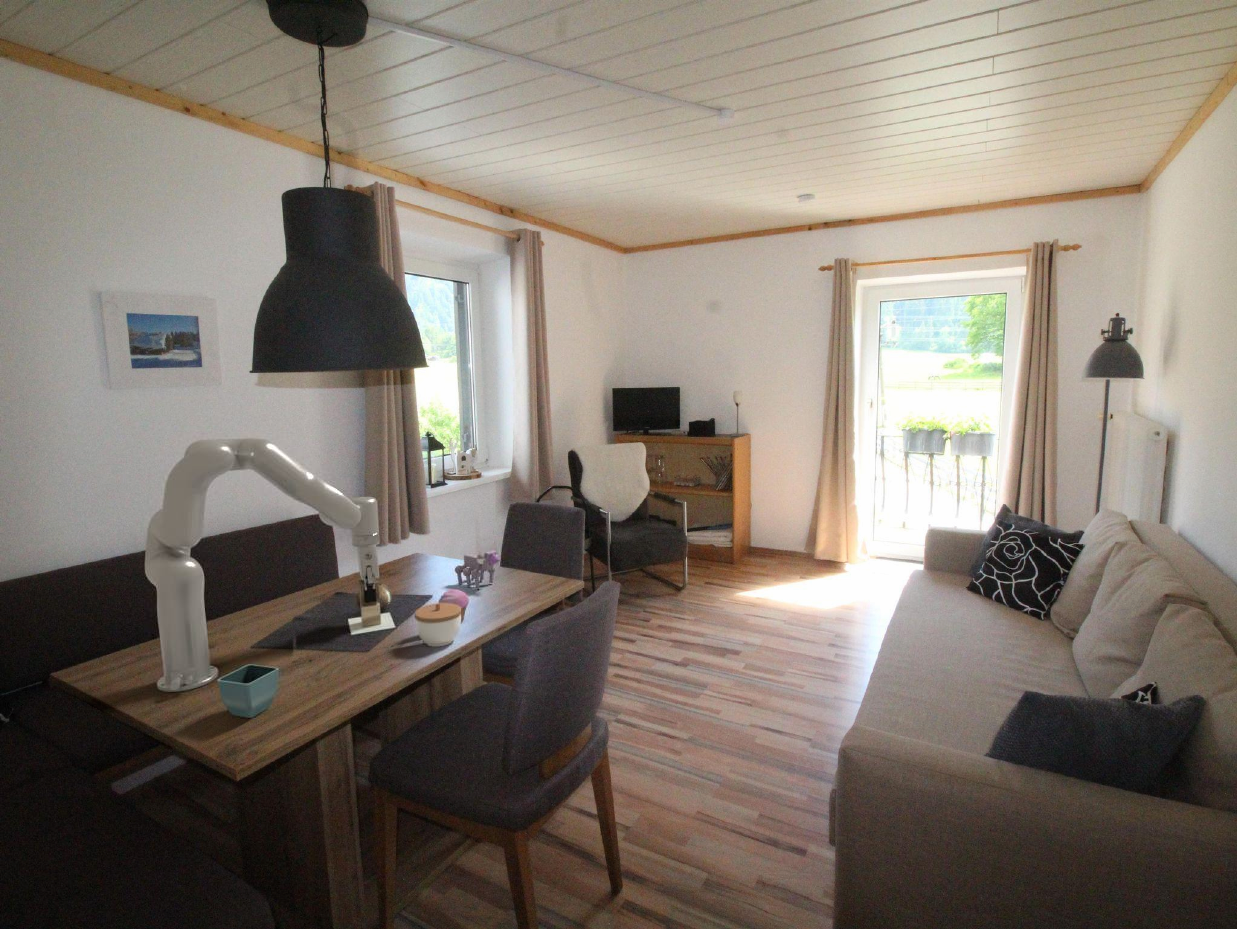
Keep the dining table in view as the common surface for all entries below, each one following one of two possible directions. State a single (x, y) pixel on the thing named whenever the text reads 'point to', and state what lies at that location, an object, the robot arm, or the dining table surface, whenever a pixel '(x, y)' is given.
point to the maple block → (370, 614)
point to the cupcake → (456, 600)
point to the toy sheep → (477, 567)
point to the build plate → (358, 628)
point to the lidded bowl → (438, 623)
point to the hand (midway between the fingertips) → (369, 598)
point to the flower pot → (249, 689)
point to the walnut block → (362, 587)
